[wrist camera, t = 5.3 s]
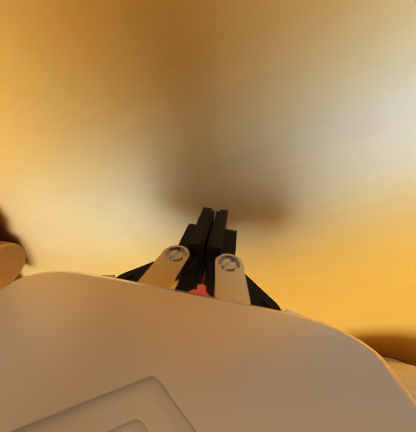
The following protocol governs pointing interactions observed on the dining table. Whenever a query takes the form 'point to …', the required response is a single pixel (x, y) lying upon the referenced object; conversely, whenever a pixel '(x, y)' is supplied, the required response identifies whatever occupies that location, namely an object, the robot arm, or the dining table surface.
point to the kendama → (10, 262)
